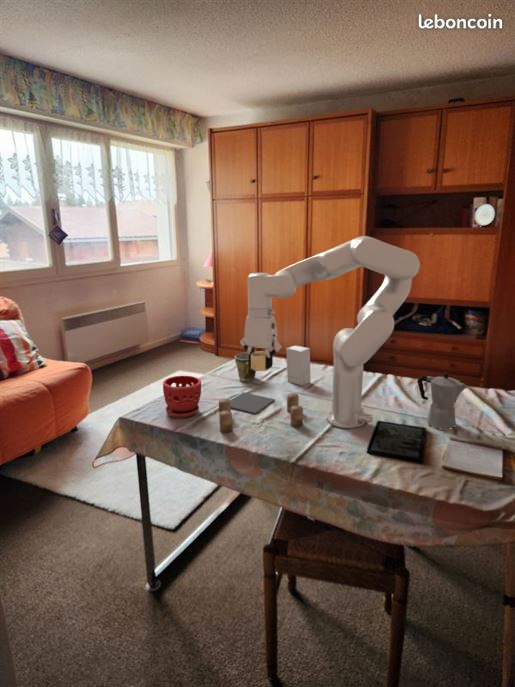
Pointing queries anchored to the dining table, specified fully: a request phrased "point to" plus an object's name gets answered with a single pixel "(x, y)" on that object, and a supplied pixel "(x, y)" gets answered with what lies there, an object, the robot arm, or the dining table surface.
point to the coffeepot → (442, 399)
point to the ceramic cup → (244, 367)
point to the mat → (250, 403)
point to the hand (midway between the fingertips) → (260, 366)
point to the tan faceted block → (258, 361)
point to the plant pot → (182, 395)
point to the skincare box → (298, 365)
